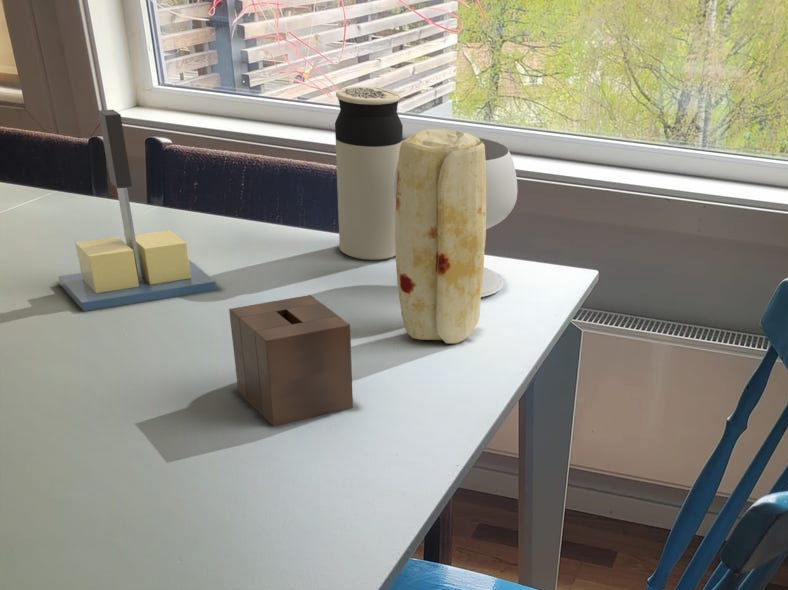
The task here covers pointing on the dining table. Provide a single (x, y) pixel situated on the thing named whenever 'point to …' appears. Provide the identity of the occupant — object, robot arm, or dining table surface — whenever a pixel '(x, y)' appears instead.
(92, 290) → the butter
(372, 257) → the travel mug
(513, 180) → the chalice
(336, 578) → the dining table surface
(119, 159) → the knife
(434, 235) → the food model
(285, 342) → the knife block
